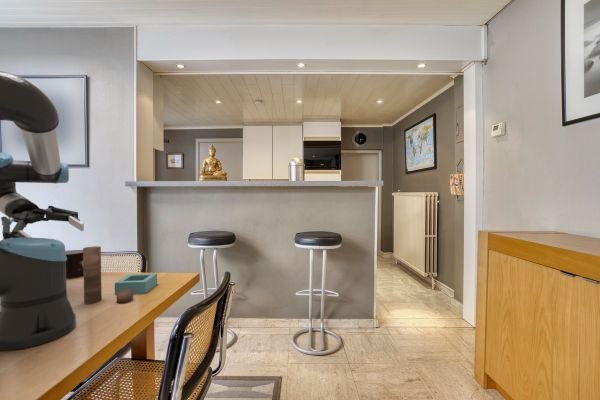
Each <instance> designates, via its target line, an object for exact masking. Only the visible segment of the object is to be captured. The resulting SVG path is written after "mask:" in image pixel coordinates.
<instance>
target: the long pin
mask: <svg viewBox="0 0 600 400" xmlns="http://www.w3.org/2000/svg"><path fill="white" fill-rule="evenodd" d="M101 247H102V246H99V245H97V246H85V247H83V248H82V250H83V269H84V276H83V303H84V304H85V305H86V304H88V305H89V304H94V303H99V302H100V301H102V298H103V297H102V248H101Z"/></svg>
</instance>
